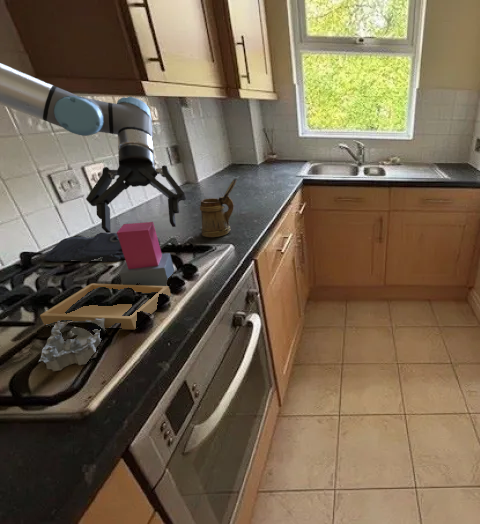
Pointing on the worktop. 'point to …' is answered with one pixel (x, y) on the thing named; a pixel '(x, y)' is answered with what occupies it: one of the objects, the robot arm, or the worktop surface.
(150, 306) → the tray
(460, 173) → the worktop surface
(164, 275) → the grey block
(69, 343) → the grey lumpy chunk
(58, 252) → the dark slate chunk
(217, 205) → the wooden mug
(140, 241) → the pink block
